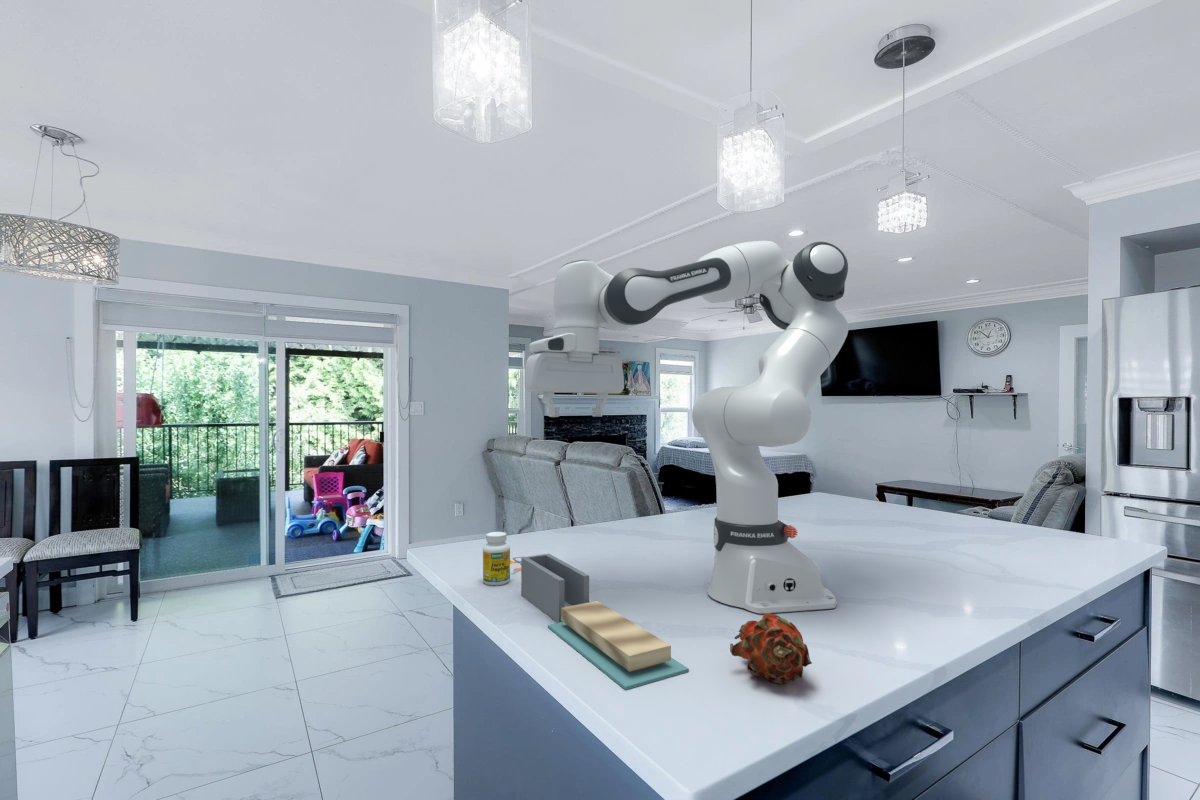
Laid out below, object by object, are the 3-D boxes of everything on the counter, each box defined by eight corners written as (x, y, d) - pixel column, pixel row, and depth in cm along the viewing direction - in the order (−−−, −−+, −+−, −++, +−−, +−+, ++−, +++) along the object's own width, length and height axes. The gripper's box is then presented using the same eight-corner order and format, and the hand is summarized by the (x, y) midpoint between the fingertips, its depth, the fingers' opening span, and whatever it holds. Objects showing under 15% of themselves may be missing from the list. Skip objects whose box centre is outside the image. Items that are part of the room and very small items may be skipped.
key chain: (498, 560, 131) (498, 556, 131) (530, 557, 134) (530, 554, 134) (508, 576, 119) (508, 572, 119) (543, 573, 122) (543, 569, 122)
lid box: (589, 617, 96) (589, 575, 96) (558, 623, 93) (558, 580, 93) (548, 590, 109) (548, 553, 109) (521, 595, 107) (521, 557, 107)
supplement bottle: (503, 576, 118) (503, 529, 118) (514, 583, 114) (514, 534, 114) (478, 580, 115) (478, 532, 115) (489, 587, 111) (489, 538, 111)
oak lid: (670, 666, 77) (670, 645, 77) (629, 677, 74) (629, 656, 74) (597, 617, 94) (597, 600, 94) (561, 625, 91) (561, 607, 91)
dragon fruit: (798, 714, 69) (743, 683, 80) (840, 661, 72) (781, 639, 83) (757, 659, 68) (707, 636, 79) (801, 609, 71) (747, 593, 82)
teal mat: (688, 671, 76) (688, 668, 76) (625, 690, 71) (625, 686, 71) (602, 616, 96) (602, 613, 96) (547, 627, 91) (547, 624, 91)
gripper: (613, 349, 119) (613, 416, 119) (521, 343, 109) (521, 416, 108) (630, 346, 113) (630, 416, 113) (534, 340, 103) (534, 417, 103)
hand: (576, 416), depth 111 cm, fingers open, 8 cm apart
